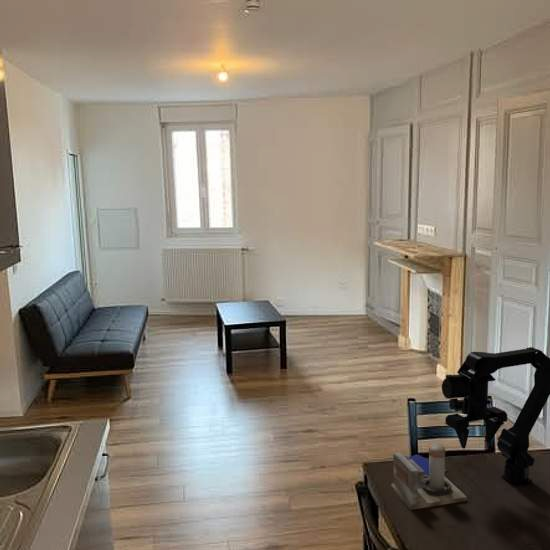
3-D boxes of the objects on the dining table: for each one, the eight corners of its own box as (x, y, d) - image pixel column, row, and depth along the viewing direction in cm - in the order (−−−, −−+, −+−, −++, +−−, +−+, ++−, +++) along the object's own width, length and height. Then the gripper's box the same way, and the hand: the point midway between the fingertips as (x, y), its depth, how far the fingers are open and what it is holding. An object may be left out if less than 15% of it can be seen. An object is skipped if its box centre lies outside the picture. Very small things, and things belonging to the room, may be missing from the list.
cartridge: (444, 485, 170) (444, 444, 168) (445, 493, 166) (445, 451, 164) (428, 484, 171) (428, 443, 169) (429, 492, 167) (429, 450, 165)
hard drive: (400, 460, 187) (429, 475, 177) (417, 453, 192) (446, 467, 182) (400, 465, 188) (429, 479, 177) (417, 458, 192) (446, 472, 182)
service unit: (443, 479, 176) (444, 445, 175) (466, 500, 164) (467, 464, 162) (391, 487, 172) (391, 452, 171) (410, 509, 160) (410, 472, 158)
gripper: (483, 383, 178) (481, 430, 180) (434, 391, 172) (433, 440, 174) (509, 394, 168) (507, 444, 170) (458, 403, 161) (457, 455, 163)
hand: (475, 445), depth 170 cm, fingers open, 9 cm apart
